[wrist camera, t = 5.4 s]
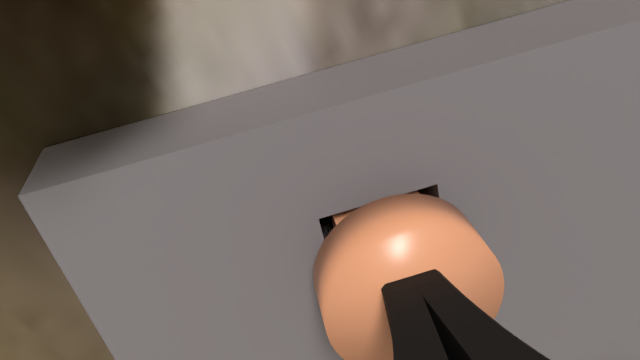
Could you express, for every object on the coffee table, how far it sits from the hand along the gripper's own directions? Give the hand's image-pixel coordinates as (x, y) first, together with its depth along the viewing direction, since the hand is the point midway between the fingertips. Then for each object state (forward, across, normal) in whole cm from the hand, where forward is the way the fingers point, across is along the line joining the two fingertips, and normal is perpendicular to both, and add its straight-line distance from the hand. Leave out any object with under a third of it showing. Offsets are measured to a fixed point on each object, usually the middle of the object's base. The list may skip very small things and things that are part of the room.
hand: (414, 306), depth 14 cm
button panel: (+5, 0, +4) cm, 7 cm away
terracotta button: (+4, 0, 0) cm, 4 cm away
